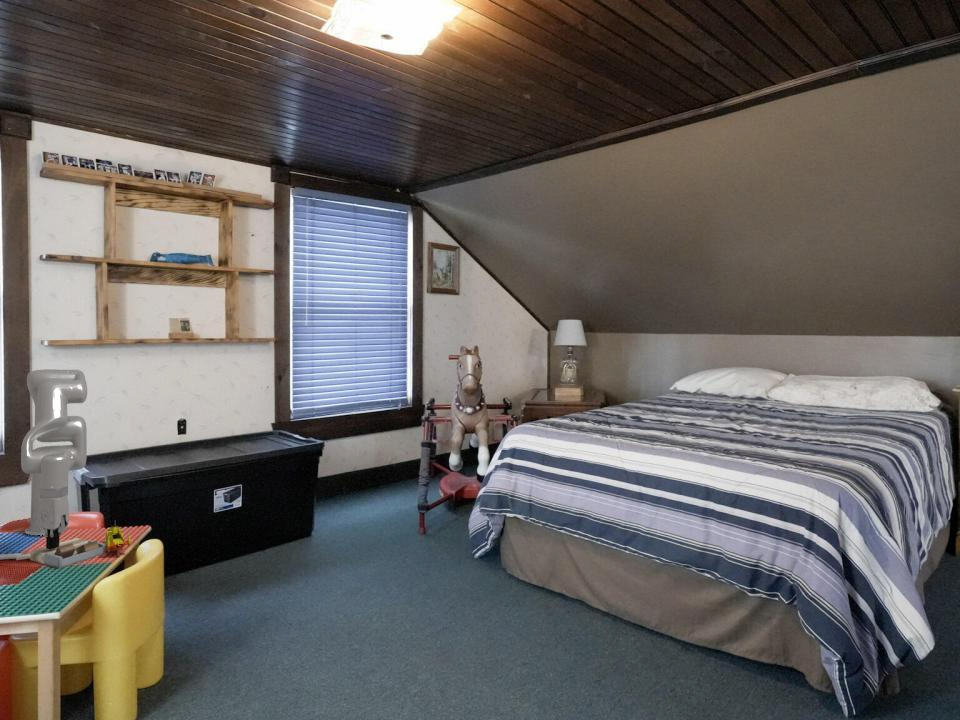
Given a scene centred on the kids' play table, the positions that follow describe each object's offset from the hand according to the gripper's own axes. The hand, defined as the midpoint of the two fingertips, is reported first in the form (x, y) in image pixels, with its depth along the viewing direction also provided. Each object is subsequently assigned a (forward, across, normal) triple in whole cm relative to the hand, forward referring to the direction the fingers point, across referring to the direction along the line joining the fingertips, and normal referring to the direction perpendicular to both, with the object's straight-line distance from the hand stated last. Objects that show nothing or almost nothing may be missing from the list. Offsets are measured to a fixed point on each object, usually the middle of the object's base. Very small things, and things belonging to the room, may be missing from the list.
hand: (52, 547), depth 199 cm
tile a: (0, +6, +7) cm, 9 cm away
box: (+4, +6, +4) cm, 8 cm away
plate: (+4, -1, +4) cm, 5 cm away
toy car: (+4, +8, +16) cm, 18 cm away
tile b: (0, +5, 0) cm, 5 cm away
